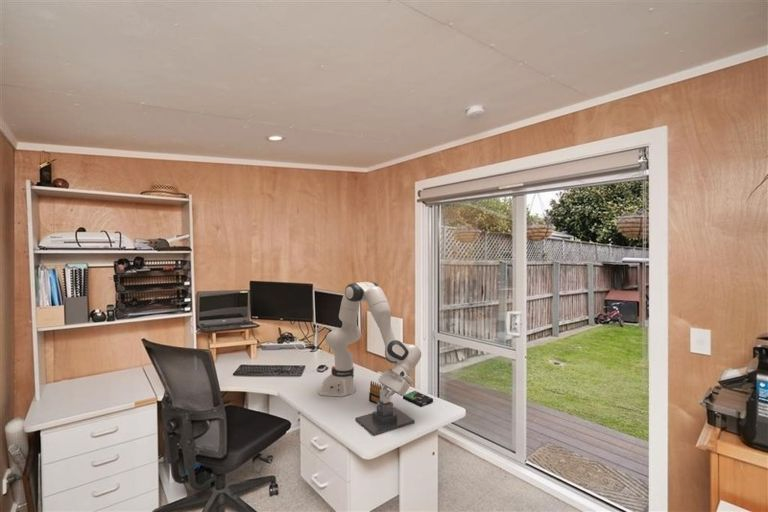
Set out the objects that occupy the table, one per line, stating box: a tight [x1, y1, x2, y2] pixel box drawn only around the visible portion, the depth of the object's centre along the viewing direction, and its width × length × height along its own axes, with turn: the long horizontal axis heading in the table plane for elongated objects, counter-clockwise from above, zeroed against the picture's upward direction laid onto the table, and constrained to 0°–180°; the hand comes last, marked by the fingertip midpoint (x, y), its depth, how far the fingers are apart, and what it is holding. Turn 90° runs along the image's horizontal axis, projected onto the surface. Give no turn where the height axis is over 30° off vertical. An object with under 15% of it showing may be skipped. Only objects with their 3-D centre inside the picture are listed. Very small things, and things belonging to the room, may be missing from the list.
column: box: [380, 388, 391, 405], centre depth 189 cm, size 4×4×14 cm
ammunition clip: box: [368, 380, 383, 405], centre depth 211 cm, size 11×2×12 cm, turn 46°
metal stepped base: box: [354, 401, 415, 437], centre depth 189 cm, size 24×18×10 cm
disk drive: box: [402, 390, 434, 408], centre depth 216 cm, size 10×3×15 cm
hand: (383, 396), depth 189 cm, fingers closed on column, 4 cm apart
